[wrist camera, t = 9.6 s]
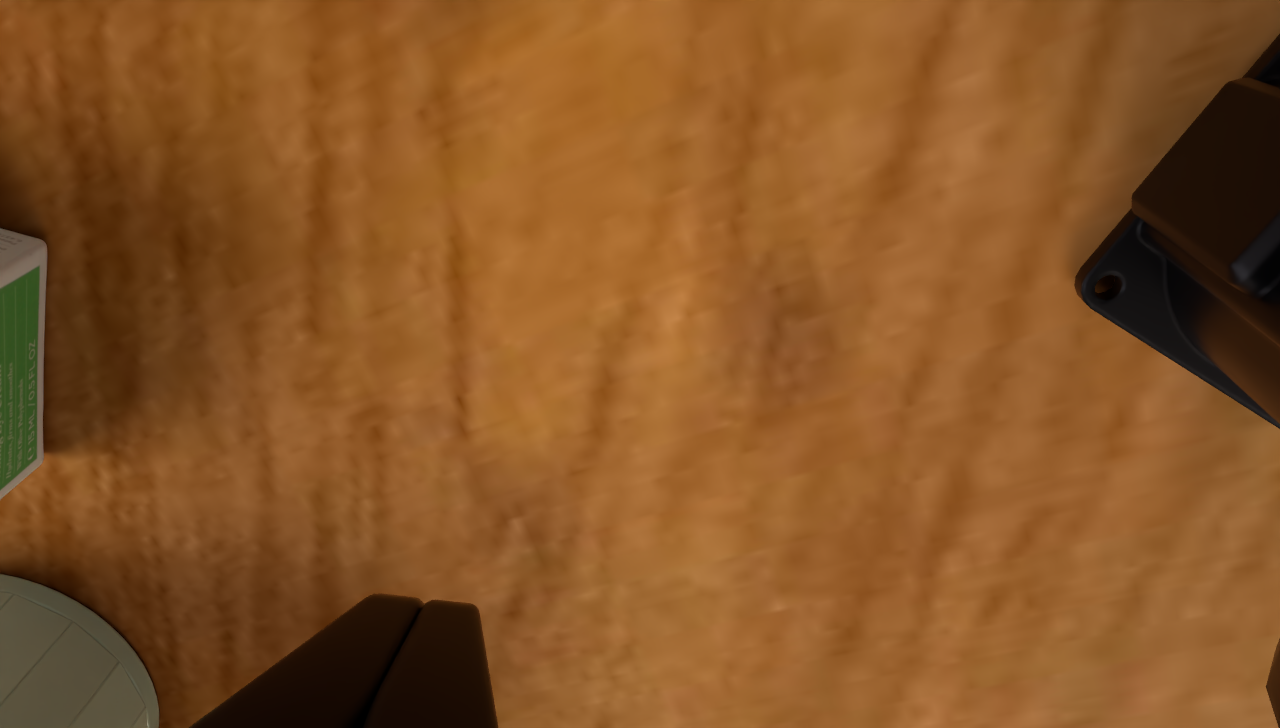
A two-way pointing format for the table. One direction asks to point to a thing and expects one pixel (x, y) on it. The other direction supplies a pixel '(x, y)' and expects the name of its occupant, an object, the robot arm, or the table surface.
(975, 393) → the table surface
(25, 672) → the cup
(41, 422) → the small box
